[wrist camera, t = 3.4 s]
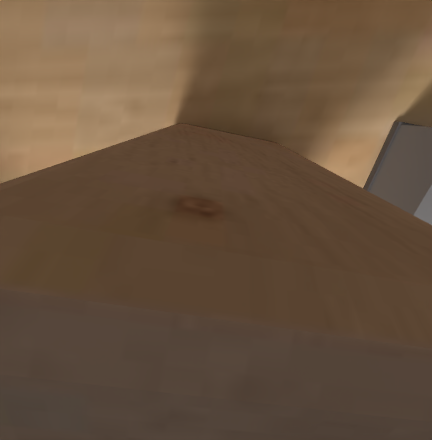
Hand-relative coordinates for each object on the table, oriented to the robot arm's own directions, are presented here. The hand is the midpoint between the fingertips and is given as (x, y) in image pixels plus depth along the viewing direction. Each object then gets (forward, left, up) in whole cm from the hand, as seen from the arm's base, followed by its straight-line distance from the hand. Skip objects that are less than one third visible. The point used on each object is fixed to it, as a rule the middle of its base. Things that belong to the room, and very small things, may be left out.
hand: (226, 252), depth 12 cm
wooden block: (0, 0, -12) cm, 12 cm away
